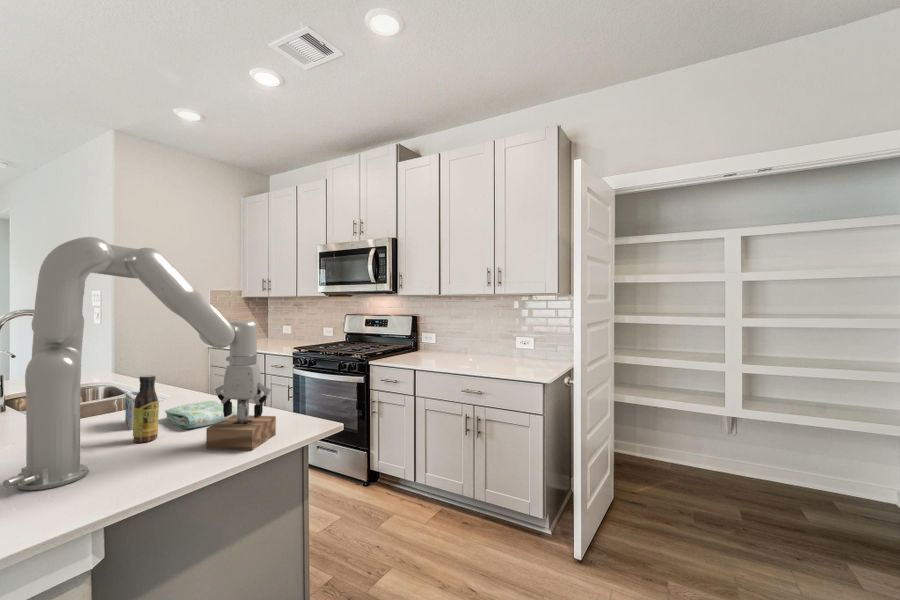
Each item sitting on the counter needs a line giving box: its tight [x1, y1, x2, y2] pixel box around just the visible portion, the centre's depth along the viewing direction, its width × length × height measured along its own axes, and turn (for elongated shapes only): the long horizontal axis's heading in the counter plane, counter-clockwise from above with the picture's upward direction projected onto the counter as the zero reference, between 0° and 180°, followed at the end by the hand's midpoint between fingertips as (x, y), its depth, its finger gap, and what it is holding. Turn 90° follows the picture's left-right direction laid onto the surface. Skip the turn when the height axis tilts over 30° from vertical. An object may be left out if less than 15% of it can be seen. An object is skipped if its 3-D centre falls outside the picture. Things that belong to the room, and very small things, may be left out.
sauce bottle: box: [132, 374, 160, 444], centre depth 130 cm, size 7×6×20 cm
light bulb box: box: [124, 390, 140, 431], centre depth 145 cm, size 11×7×11 cm, turn 47°
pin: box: [236, 399, 250, 424], centre depth 129 cm, size 3×3×12 cm
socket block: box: [205, 414, 277, 452], centre depth 129 cm, size 14×14×6 cm
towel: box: [164, 400, 237, 430], centre depth 151 cm, size 18×21×5 cm
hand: (242, 416), depth 129 cm, fingers open, 9 cm apart
